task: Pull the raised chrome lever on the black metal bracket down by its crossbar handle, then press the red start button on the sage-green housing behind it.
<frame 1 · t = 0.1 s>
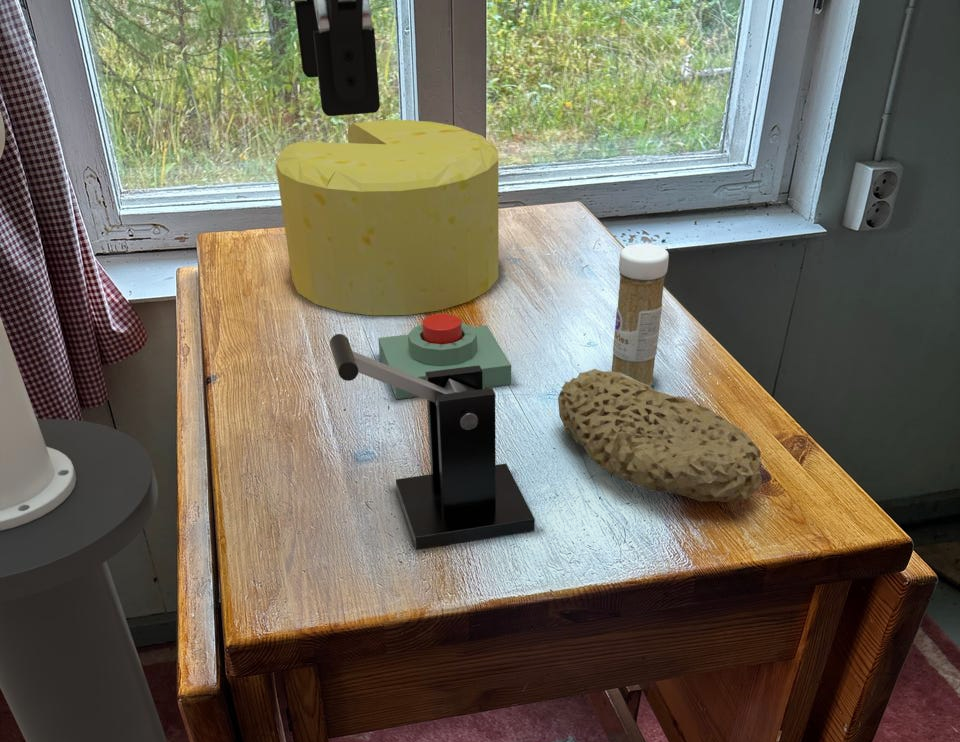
hand: (339, 92, 58), 33 cm above the table, tool pointing down, fingers open, 9 cm apart
bracket: (463, 510, 83), on the table
sprinkles bottle: (631, 385, 100), on the table
lever: (407, 382, 74), point 12 cm above the table, hinge at 30.0°
button: (442, 329, 99), point 4 cm above the table, slide at 0.1 cm
sponge: (652, 470, 87), on the table
cheese: (396, 274, 123), on the table
button box: (443, 370, 102), on the table
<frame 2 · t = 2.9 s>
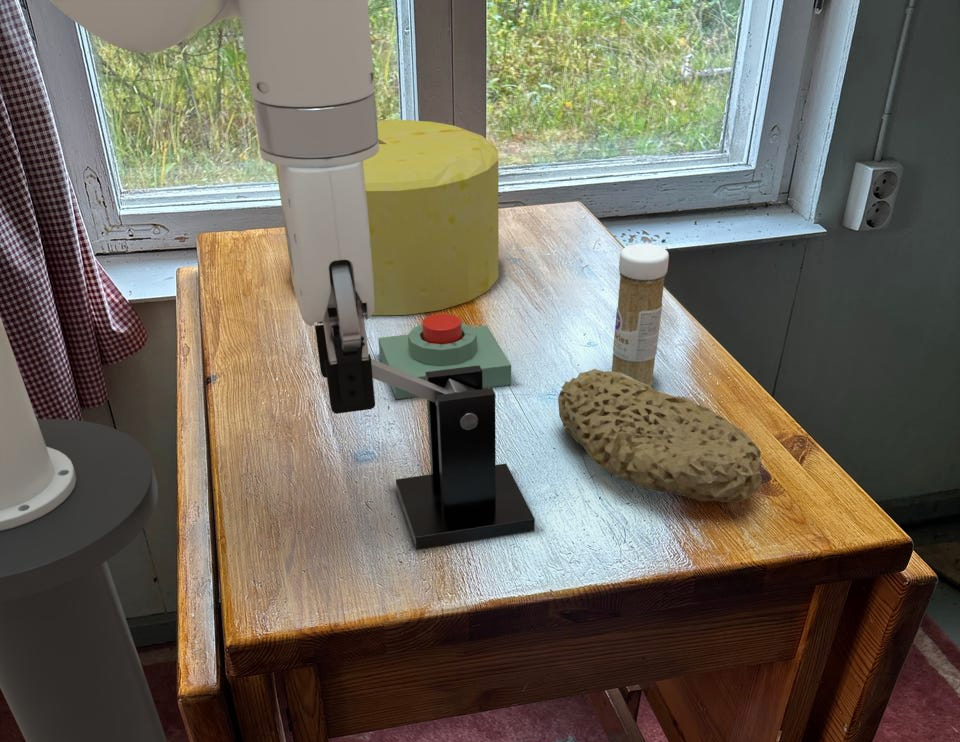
hand: (347, 389, 73), 12 cm above the table, tool pointing down, fingers closed on lever, 5 cm apart
lever: (407, 382, 74), point 12 cm above the table, hinge at 30.0°, touching gripper
everything else where it was.
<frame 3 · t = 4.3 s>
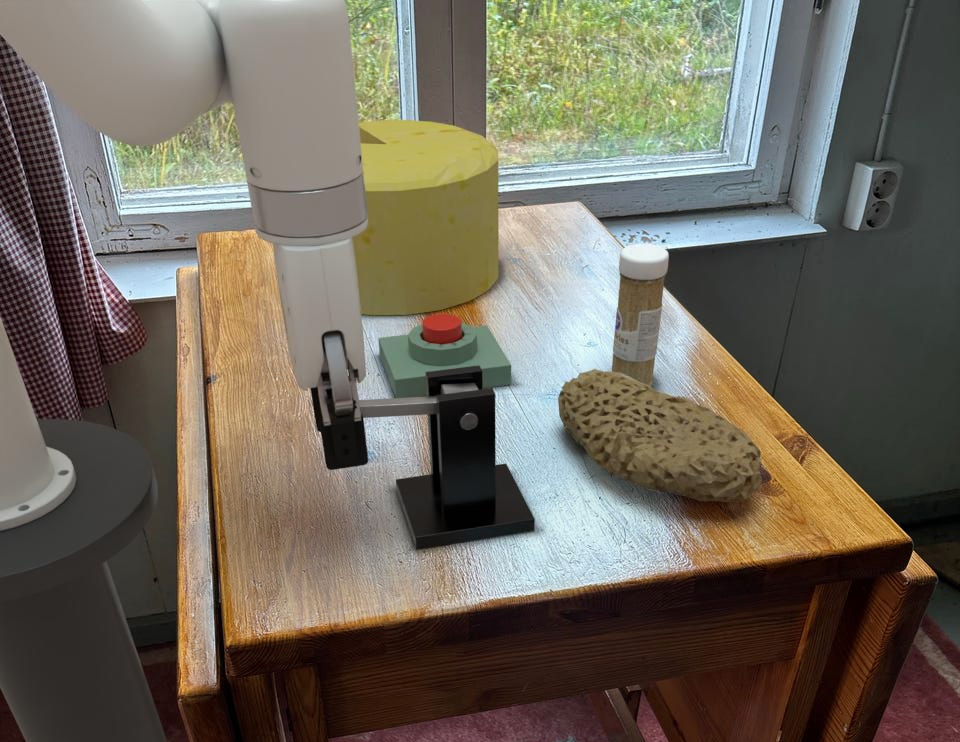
hand: (341, 444, 76), 8 cm above the table, tool pointing down, fingers closed on lever, 5 cm apart
lever: (401, 406, 75), point 10 cm above the table, hinge at 4.7°, touching gripper
everything else where it was.
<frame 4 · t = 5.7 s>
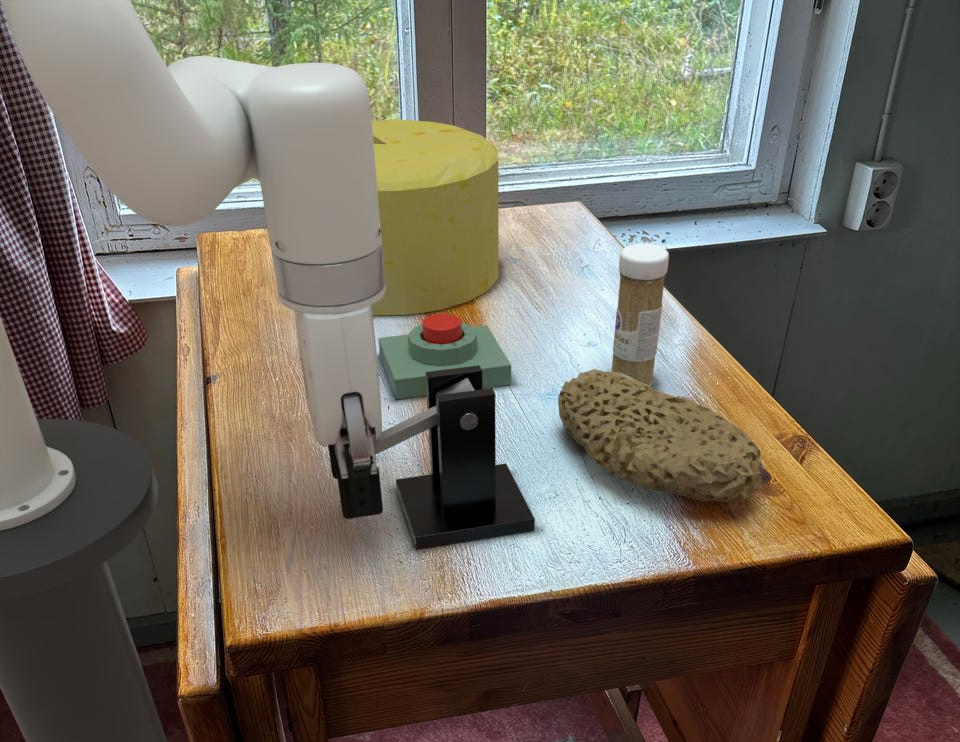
hand: (356, 492, 79), 3 cm above the table, tool pointing down, fingers open, 5 cm apart
lever: (406, 429, 76), point 8 cm above the table, hinge at -20.4°
everything else where it was.
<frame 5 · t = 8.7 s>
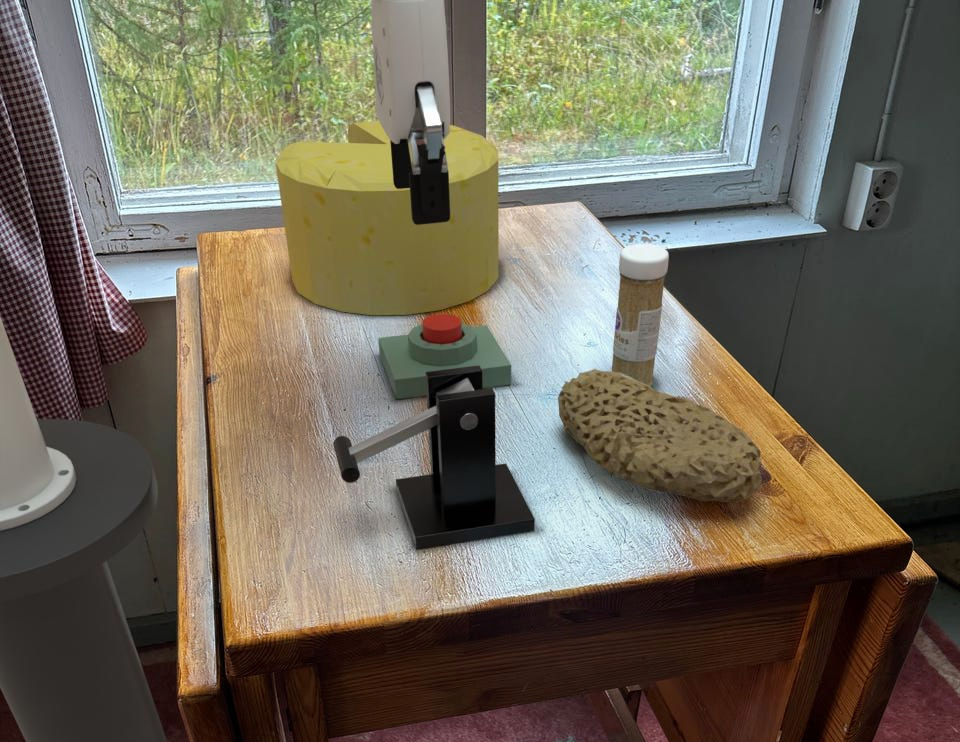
hand: (421, 203, 85), 19 cm above the table, tool pointing down, fingers open, 9 cm apart
nothing on the table moved.
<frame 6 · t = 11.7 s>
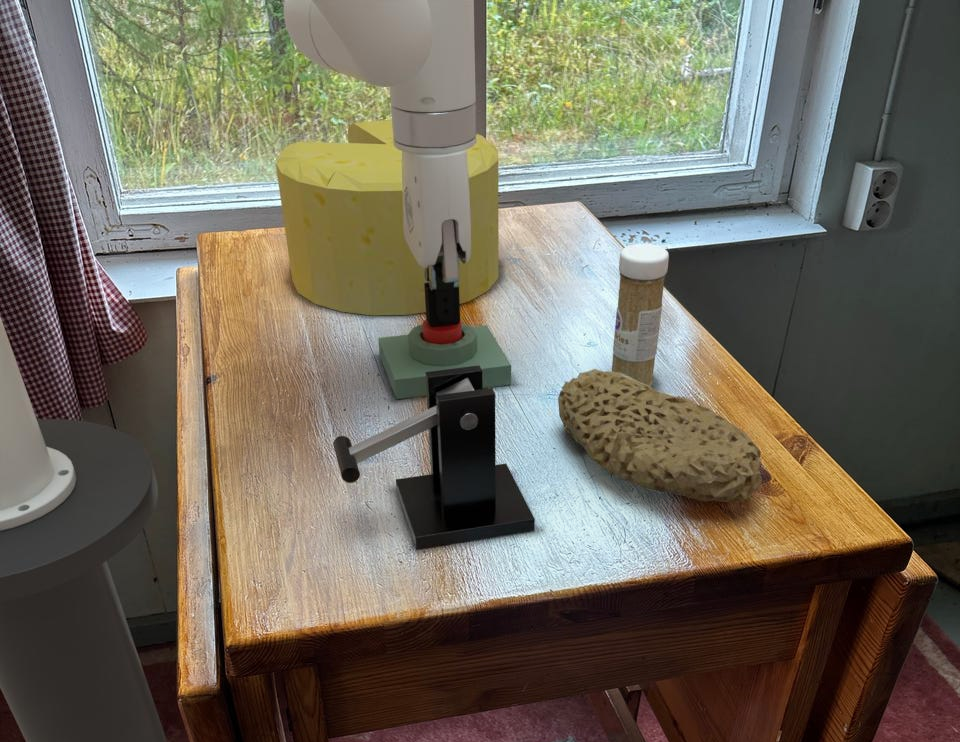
hand: (443, 322, 99), 5 cm above the table, tool pointing down, fingers closed
button: (442, 331, 99), point 4 cm above the table, slide at -0.1 cm, touching gripper
everything else where it was.
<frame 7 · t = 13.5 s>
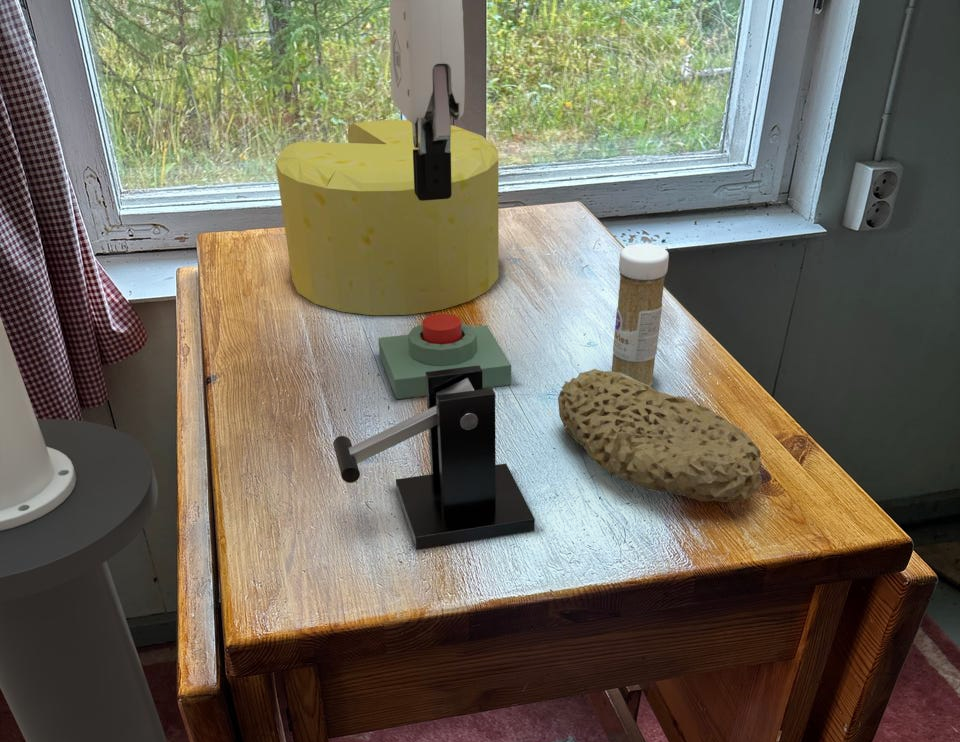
hand: (433, 196, 90), 18 cm above the table, tool pointing down, fingers closed
button: (442, 329, 99), point 4 cm above the table, slide at 0.1 cm
everything else where it was.
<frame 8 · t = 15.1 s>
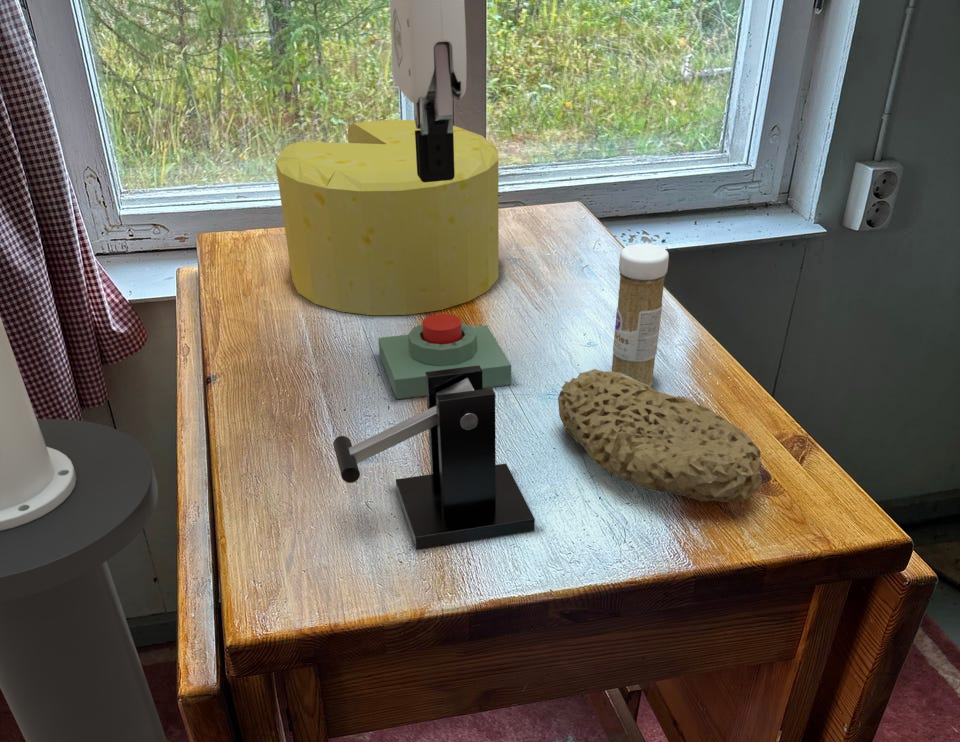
hand: (435, 178, 90), 19 cm above the table, tool pointing down, fingers closed
nothing on the table moved.
at the end: lever at -20° (first picture: +30°); button pushed in 1.1 cm at the most during the clip, back to where it started at the end; button slide at 0.1 cm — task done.
